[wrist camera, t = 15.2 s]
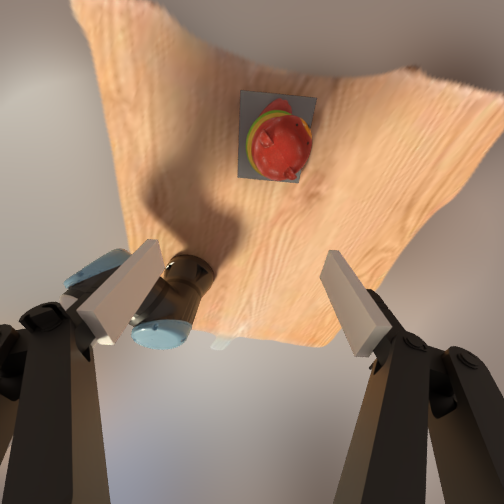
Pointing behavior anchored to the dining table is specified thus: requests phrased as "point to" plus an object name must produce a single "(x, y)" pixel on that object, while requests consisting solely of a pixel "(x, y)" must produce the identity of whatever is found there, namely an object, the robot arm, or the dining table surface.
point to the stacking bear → (278, 142)
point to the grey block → (250, 112)
